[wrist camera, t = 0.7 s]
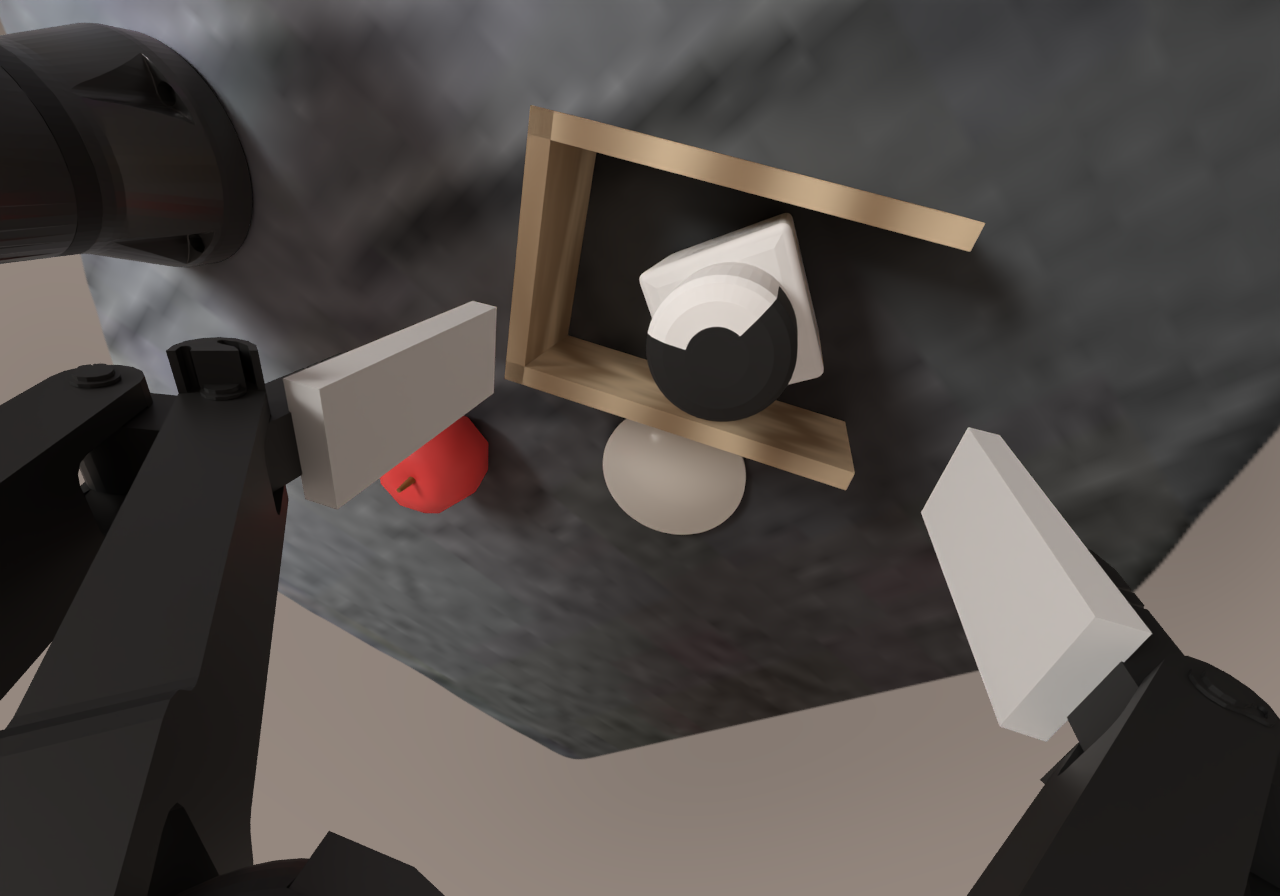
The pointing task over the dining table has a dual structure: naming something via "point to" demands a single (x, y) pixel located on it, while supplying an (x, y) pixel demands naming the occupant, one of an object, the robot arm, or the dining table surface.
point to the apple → (440, 469)
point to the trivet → (671, 479)
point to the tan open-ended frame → (624, 380)
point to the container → (732, 322)
